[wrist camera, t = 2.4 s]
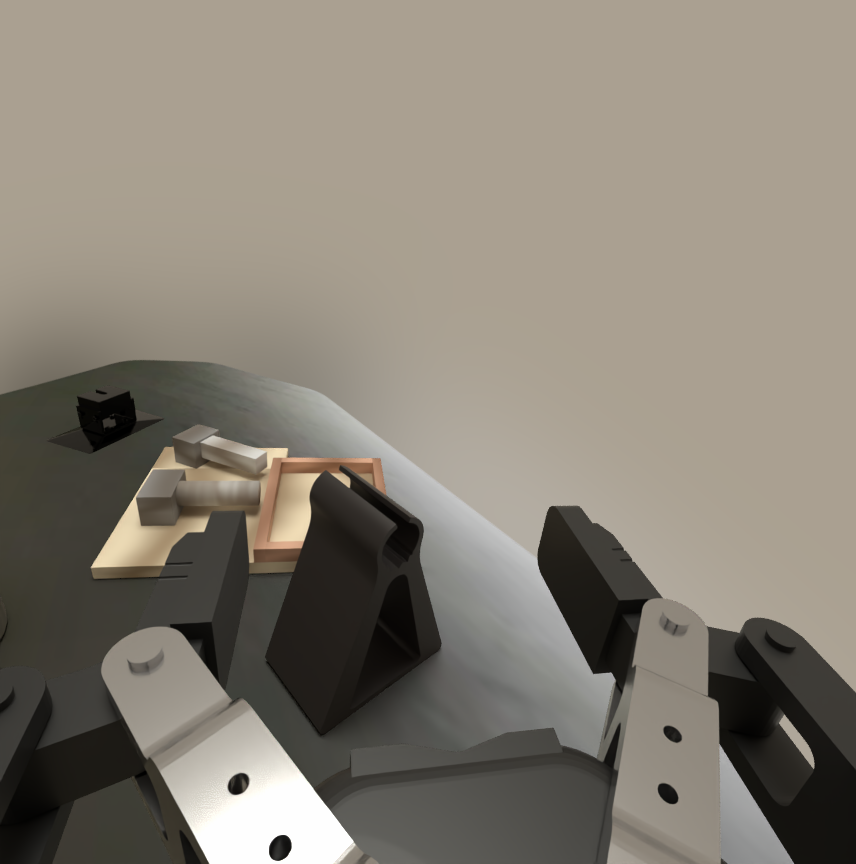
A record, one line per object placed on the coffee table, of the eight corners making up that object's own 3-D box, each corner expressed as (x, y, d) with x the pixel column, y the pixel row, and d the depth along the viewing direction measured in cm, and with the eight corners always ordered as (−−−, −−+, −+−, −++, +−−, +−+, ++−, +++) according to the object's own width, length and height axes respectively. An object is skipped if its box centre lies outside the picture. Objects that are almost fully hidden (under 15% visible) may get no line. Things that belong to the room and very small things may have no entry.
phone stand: (383, 594, 36) (395, 446, 31) (441, 649, 32) (467, 492, 27) (265, 660, 30) (255, 492, 25) (319, 737, 26) (322, 559, 21)
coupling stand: (93, 578, 34) (83, 536, 33) (166, 455, 49) (162, 422, 48) (394, 568, 38) (398, 530, 37) (377, 457, 53) (380, 427, 52)
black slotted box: (134, 405, 59) (128, 369, 57) (184, 419, 58) (179, 382, 56) (27, 449, 49) (15, 406, 47) (84, 468, 47) (74, 424, 45)
